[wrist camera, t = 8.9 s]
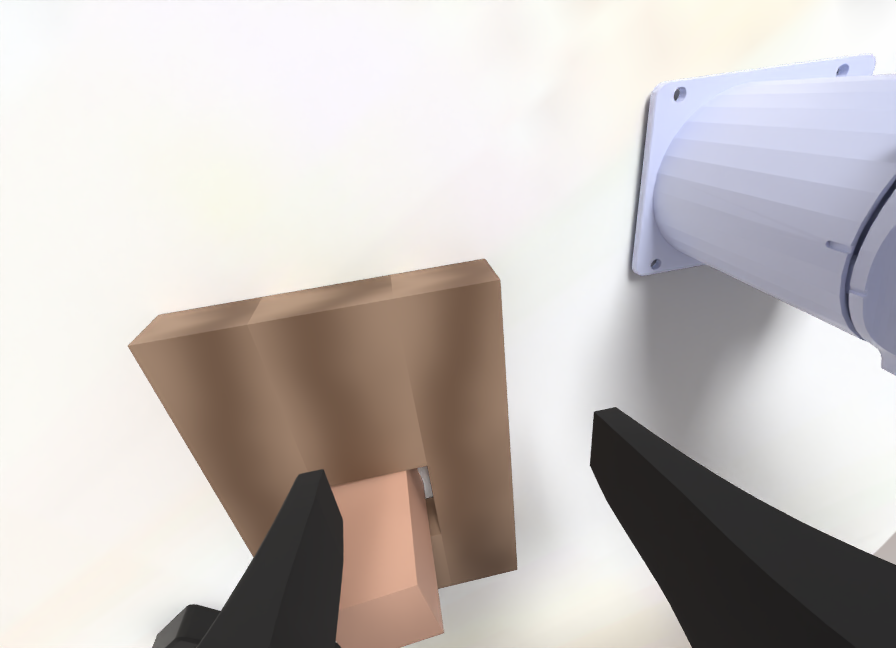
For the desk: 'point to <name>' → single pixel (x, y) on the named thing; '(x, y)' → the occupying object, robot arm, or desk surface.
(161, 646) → the multiport hub
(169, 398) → the pin plate
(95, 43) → the desk surface
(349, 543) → the pin
